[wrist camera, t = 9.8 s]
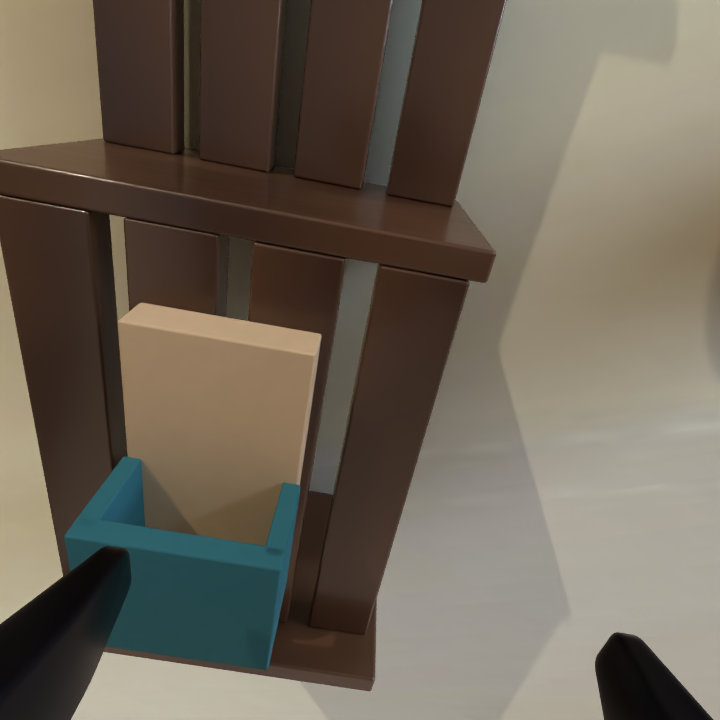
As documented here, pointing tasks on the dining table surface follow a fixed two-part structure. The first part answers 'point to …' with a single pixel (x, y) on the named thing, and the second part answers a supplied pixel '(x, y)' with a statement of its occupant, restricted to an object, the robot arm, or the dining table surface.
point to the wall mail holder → (204, 482)
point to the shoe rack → (259, 262)
